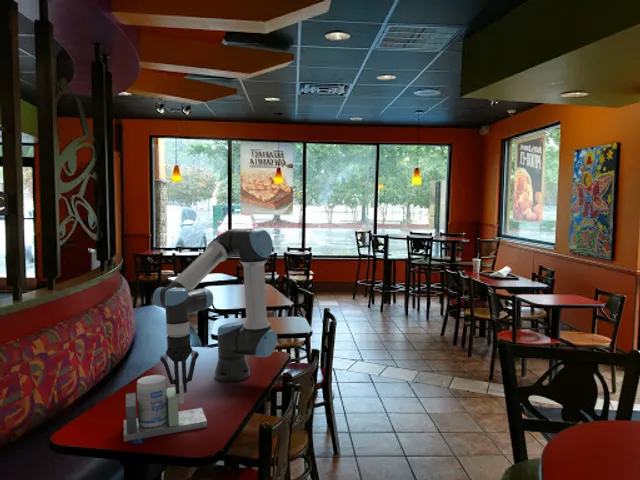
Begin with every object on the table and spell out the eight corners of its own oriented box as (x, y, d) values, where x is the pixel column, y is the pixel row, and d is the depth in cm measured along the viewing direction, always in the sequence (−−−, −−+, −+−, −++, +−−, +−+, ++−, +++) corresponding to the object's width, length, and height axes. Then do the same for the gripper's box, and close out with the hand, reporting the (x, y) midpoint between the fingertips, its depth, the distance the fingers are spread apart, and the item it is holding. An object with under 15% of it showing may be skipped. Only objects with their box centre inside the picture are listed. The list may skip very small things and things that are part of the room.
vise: (202, 413, 177) (200, 383, 176) (207, 426, 166) (206, 394, 165) (124, 426, 167) (122, 394, 167) (123, 441, 156) (122, 407, 155)
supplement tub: (156, 430, 159) (154, 385, 158) (131, 426, 162) (129, 383, 161) (173, 417, 168) (172, 375, 167) (150, 414, 171) (148, 373, 170)
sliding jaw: (175, 411, 173) (174, 387, 173) (178, 425, 162) (177, 399, 162) (166, 412, 172) (165, 388, 172) (169, 426, 161) (168, 400, 160)
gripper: (196, 329, 172) (199, 395, 174) (157, 334, 167) (161, 401, 169) (199, 334, 165) (202, 403, 167) (159, 339, 160) (162, 409, 162)
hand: (181, 402), depth 168 cm, fingers closed
